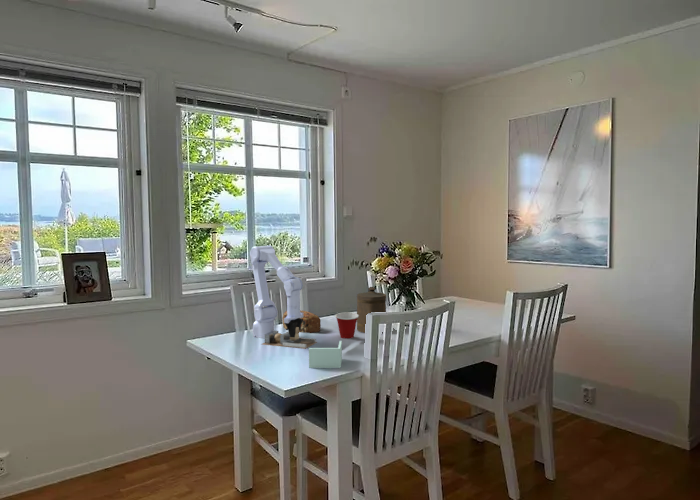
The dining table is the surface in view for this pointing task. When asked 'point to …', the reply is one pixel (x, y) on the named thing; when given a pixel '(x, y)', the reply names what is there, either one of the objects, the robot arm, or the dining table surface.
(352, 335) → the plastic cup
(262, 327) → the robot arm
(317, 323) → the bread
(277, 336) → the tan ball
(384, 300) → the wooden container
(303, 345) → the press base
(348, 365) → the dining table surface
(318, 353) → the right angle wall
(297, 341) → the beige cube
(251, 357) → the dining table surface
